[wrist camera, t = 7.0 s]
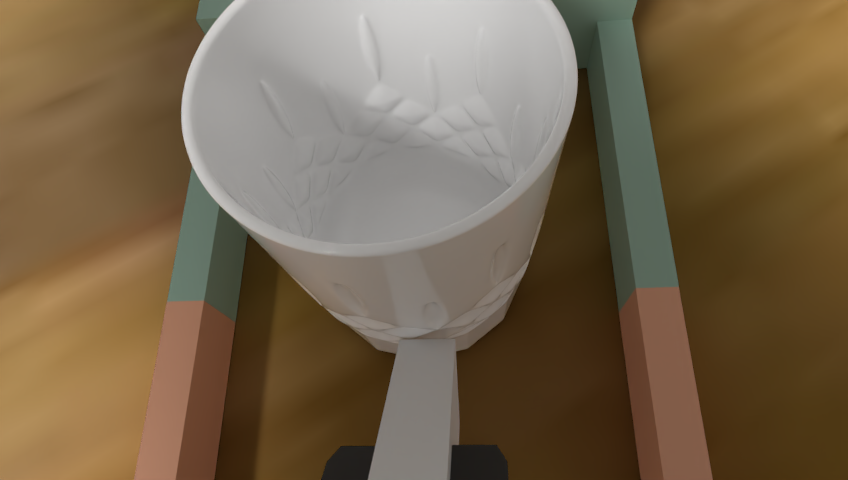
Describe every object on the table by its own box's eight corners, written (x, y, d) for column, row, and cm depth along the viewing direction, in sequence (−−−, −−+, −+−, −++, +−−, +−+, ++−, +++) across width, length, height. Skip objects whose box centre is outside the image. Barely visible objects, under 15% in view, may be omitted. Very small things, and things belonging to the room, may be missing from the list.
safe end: (657, 311, 19) (695, 268, 16) (202, 323, 21) (141, 285, 17) (614, 42, 24) (636, -41, 20) (242, 67, 25) (200, -6, 22)
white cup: (583, 243, 21) (658, 29, 12) (442, 429, 18) (397, 346, 9) (409, 133, 23) (358, -111, 14) (267, 285, 21) (101, 112, 12)
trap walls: (695, 554, 17) (727, 563, 14) (166, 548, 18) (120, 554, 16) (656, 311, 19) (679, 286, 17) (202, 323, 21) (166, 301, 19)
